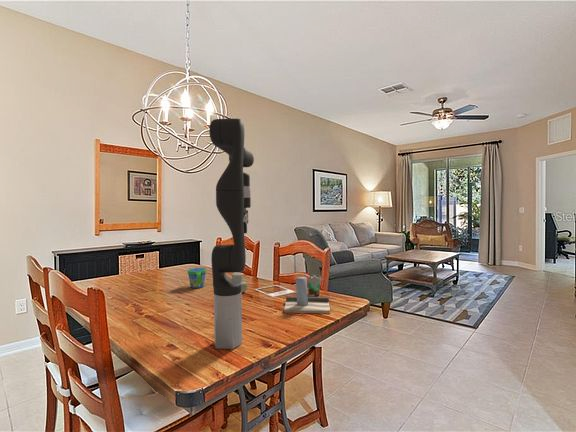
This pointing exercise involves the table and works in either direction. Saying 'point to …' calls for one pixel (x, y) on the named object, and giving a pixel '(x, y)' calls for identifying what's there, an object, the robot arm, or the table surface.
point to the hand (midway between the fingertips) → (242, 234)
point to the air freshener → (240, 280)
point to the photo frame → (277, 292)
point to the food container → (314, 285)
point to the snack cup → (197, 277)
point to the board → (313, 305)
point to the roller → (301, 291)
